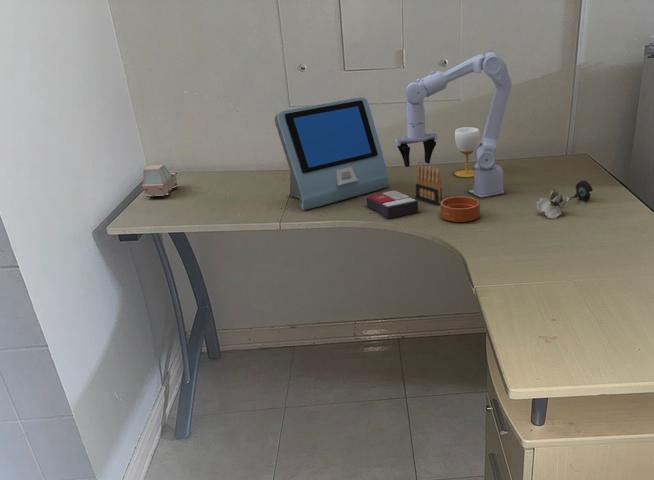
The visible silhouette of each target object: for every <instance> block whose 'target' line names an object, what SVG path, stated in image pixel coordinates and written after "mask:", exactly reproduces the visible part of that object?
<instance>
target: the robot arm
mask: <svg viewBox="0 0 654 480" xmlns="http://www.w3.org/2000/svg"><path fill="white" fill-rule="evenodd" d="M482 72H483V73H484V74H485V75H486V76H488V78H490V79H491V80H492V82H493V84H494V85H495V87H494V91H493V95H492V99H491V101H490V102H491V103H490V107H489V111H488V114H487V119H486V121H485V122H486V123H485V127H484V131H483V135H482V137H481V139H480V142H479V144H478V145H477V147H476V149H475V151H474V156H475V159H476V163H475V164H474V165H473V166H474V169H473V170H474V177H473V189H470V190H468V193H470V194H472V195H474V196H477V197H479V198H480V199H481V198H488V197H492V196H497V195H502V194H505V191H504V171H503V168H502V167H501V166H500V165H499V164H496V163H497V156H496V152H497V146H498V138H499V134H500V130H501V127H502V123H503V119H504V116H505V111H506V108H507V104H508V100H509V96H510V92H511V89H512V80H511V76H510V73H509V69H508V67H507V64H506V62H505V61H504V60H503V59H502V57H501V56H500V54H499V53H498V52H496V51H494V50H488V51H485V52H484V53H479V54H477V55H475V56H472V57H470V58H468V59H466V60H465V61H463V62H461V63H459V64H458V65H455V66H454V67H452V68H450V69H448V70H446V71H444V72H443V71H440V70H436V71H435V70H432V71H430V74H429V75H426V76H424V77H422V78H417V79H416V81H413V82H410V83H409V84H408V85H407V86H406V89H405V97H406V106H407V107H406V125H407V127H406V128H407V135H405V136H401V137H398V138H395V139H394V142H395V146H396V147H397V149H398V151H399V153H400V155H401V157H402V160H403V164H404V167H406V168H410V153H411V152H410V151H411V147H410V146H409V145H410V144H416V143H422V144H423V151H424V163H425V164H427V165H428V164H429V165H430V163H431V159H432V155H433V152H434V149H435V147H436V146H437V141H438V133H435V132H432V133H426V116H425V115H426V114H425V113H426V111H425V110H426V109H425V106H424V100H425V98H429V97H431V96H433V95H435V94H437V93H439V92H441V91H442V92H443V90H446V89H447V86H448V84H449V83H450V82H452V81H453V82H454V81H455V80H457V79H459V78H462V77H464V76H466V75H469V74H471V73H473V74H482Z"/></svg>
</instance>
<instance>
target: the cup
mask: <svg viewBox="0 0 654 480" xmlns="http://www.w3.org/2000/svg"><path fill="white" fill-rule="evenodd" d="M454 141H455V146H456V147H457V149H458V151H459V153H461V154H463V155H465V169H462V170H458V171H454V175H455V176H456V177H459V178H474V169H469V155H471V154H473V153H475V150H476V148H477V147H478V146H479V143H480V142H479V141H480V130H479V128H477V127H471V126H470V127H469V126H467V127H465V126H464V127H458V128H456V129H455V131H454Z"/></svg>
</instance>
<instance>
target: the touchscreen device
mask: <svg viewBox="0 0 654 480" xmlns="http://www.w3.org/2000/svg"><path fill="white" fill-rule="evenodd" d="M274 123H275V126H276V130H277V132H278V133H277V134H278V136H279V139H280V143H281V145H282V149H283V153H284V155H285V159H286V162H287V165H288V169H289V172H290V174H289V177H290V178H289V196H290V197H292V198H296V199H297V200H299V204H300V207H301V210H302V211H308V210H312V209H315V208H318V207H319V208H320V207H323V206H327V205H331V204H334V203H337V202H341V201H344V200H347V199H351V198H356V197H359V196H362V195H366V194H368V193H372V192H373V193H374V192H377V191H379V190H383V189H385V188H387V187H388V186H389V175H388V171H387V170H388V169H387V166H386V163H385V158H384V154H383V150H382V146H381V143H380V140H379V135H378V133H377V129H376V125H375V122H374V119H373V115H372V111H371V108H370V105H369V101H368V100H367V99H366V97H355V98H349V99H342V100H338V101H331V102H326V103H321V104H315V105H309V106H304V107H297V108H292V109H285V110H282V111H280V112H278V113H277V114H276V115H275V116H274Z"/></svg>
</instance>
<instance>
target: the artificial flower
mask: <svg viewBox="0 0 654 480" xmlns="http://www.w3.org/2000/svg"><path fill="white" fill-rule="evenodd" d="M575 190H576V192H575V194H574V196H571V197H569V196H567V197H565V198H563V194H559V189H558V188H557V187H555V188H552V190H551V192H550V195H549V198H547V197H541V198H540V199H538V200H537V202H536V208H537V210H538V211H539V212H542V213H544V215H545V216H546V218H547V219H556V218H558V217H559V216H561V215H562V210H561V209H560V207H562V206H565V205H566V203H568V202H569V201H571V200H572V199H577V198H578V199H579V200H583V201H588V200H590V199H591V197H592V194H591V192H593V191H594V190H593V187H592V185H591V183H590V182H588V181H586V180H580V181H578V182H577V183H576V184H575ZM549 199H550V200H549Z"/></svg>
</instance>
